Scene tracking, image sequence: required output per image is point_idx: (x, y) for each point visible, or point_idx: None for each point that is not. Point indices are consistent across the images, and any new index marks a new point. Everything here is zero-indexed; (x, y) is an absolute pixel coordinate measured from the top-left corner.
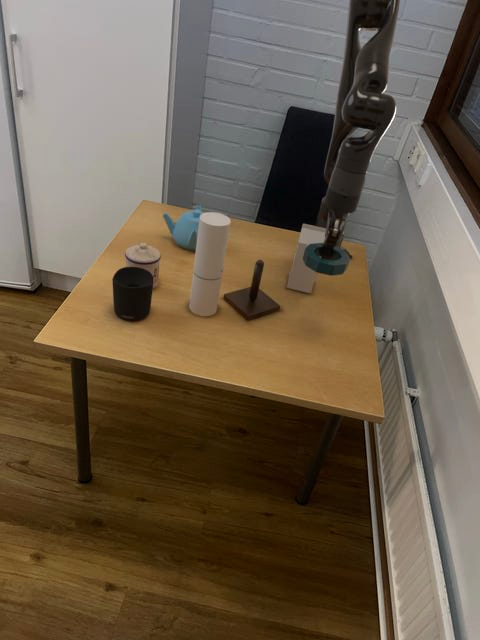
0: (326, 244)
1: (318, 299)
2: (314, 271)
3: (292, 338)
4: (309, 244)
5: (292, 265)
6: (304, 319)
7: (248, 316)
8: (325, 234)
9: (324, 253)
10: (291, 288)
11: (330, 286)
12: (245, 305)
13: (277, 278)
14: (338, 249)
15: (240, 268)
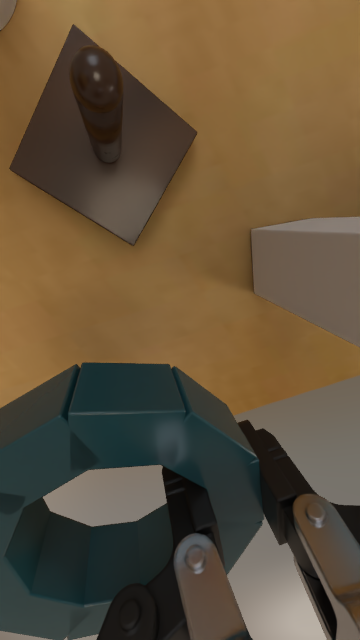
0: (112, 617)
1: (240, 316)
2: (292, 306)
3: (34, 313)
4: (172, 411)
5: (295, 230)
6: (135, 313)
7: (9, 168)
8: (317, 524)
9: (164, 484)
10: (251, 242)
11: (308, 324)
12: (60, 136)
13: (287, 188)
14: (225, 552)
15: (293, 41)
